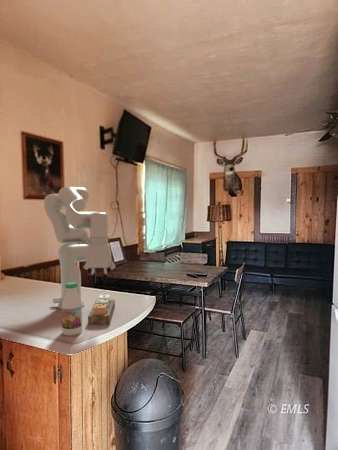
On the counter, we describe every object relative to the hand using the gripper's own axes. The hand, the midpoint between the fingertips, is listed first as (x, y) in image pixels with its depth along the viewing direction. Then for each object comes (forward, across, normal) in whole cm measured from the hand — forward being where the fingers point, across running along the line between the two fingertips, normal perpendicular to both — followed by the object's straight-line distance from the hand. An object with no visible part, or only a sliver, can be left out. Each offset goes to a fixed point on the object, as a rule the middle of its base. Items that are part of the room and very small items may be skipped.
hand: (99, 282), depth 136 cm
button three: (+15, 0, 0) cm, 15 cm away
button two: (+15, 0, +8) cm, 17 cm away
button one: (+15, 0, +15) cm, 21 cm away
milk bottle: (+17, -10, -11) cm, 23 cm away
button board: (+17, 0, +8) cm, 19 cm away
